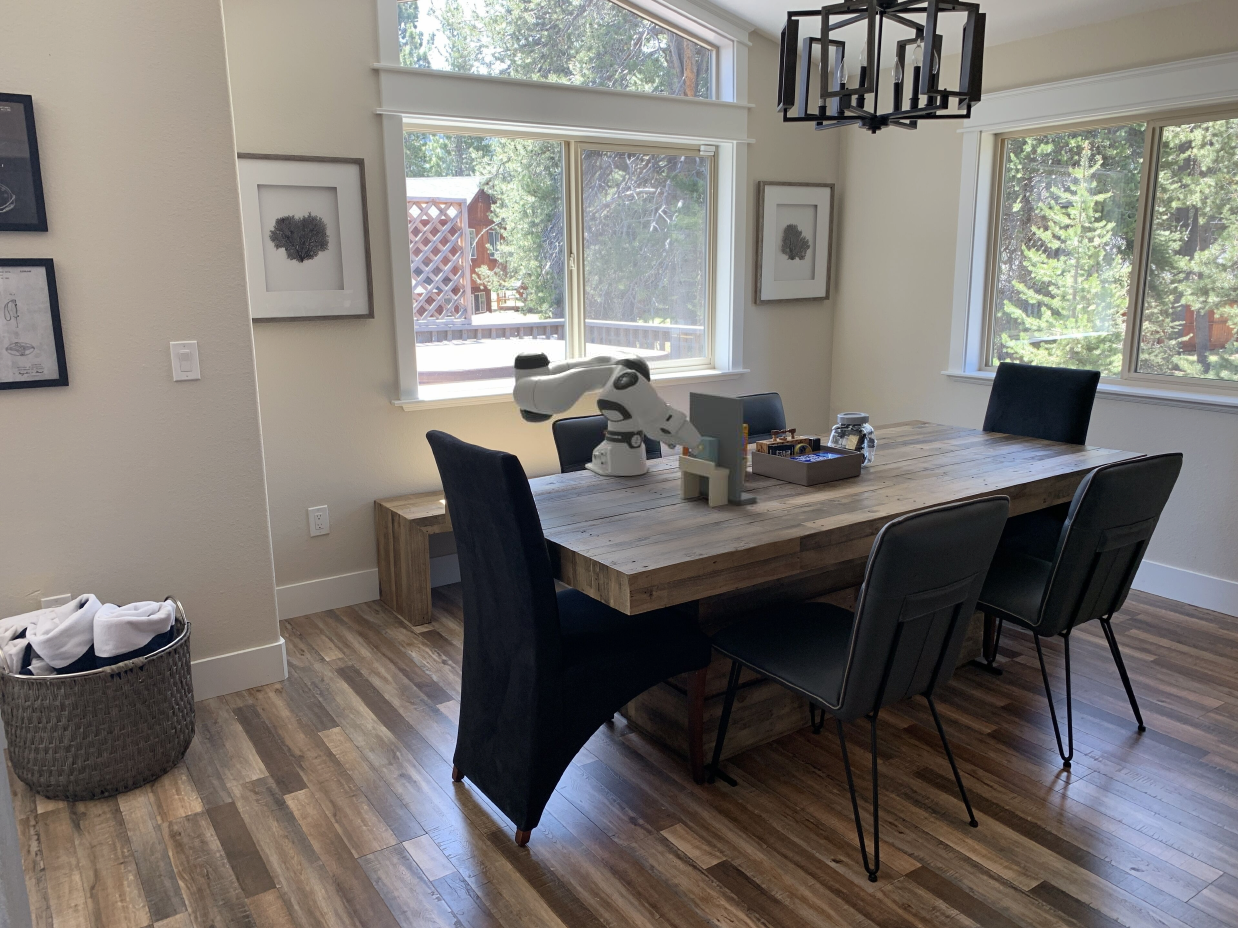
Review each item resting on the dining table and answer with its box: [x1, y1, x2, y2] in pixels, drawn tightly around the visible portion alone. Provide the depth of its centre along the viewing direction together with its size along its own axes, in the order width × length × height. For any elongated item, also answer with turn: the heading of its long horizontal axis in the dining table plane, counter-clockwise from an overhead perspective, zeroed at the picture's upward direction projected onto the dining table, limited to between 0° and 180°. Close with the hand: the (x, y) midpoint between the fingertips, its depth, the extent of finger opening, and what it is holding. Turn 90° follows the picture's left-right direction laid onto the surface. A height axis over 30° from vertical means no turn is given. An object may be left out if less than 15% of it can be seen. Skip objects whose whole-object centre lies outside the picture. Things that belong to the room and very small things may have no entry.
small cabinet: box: [697, 436, 718, 467], centre depth 256 cm, size 5×4×8 cm
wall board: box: [678, 391, 758, 508], centre depth 258 cm, size 20×14×30 cm
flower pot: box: [742, 456, 750, 487], centre depth 276 cm, size 9×9×9 cm
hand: (684, 450), depth 250 cm, fingers open, 8 cm apart
